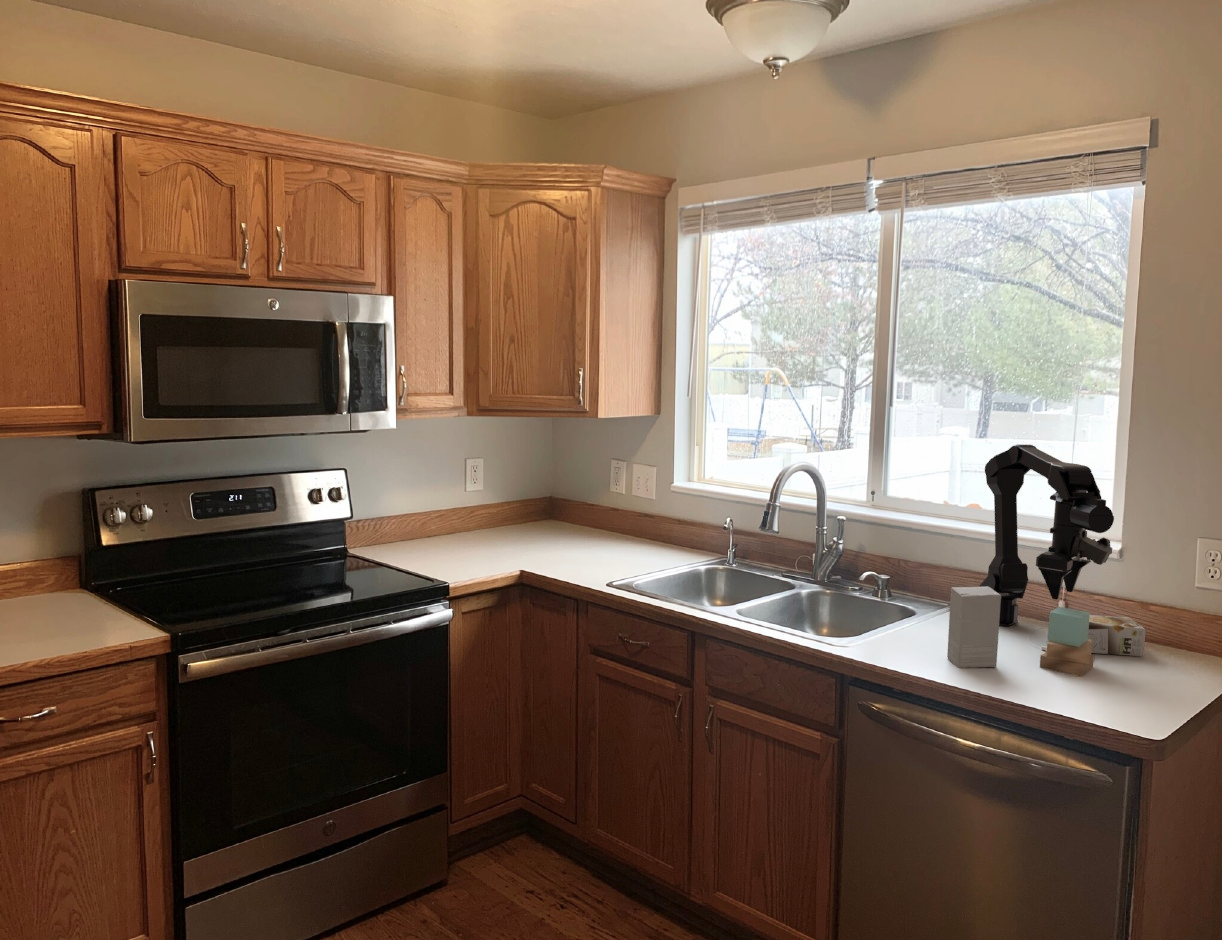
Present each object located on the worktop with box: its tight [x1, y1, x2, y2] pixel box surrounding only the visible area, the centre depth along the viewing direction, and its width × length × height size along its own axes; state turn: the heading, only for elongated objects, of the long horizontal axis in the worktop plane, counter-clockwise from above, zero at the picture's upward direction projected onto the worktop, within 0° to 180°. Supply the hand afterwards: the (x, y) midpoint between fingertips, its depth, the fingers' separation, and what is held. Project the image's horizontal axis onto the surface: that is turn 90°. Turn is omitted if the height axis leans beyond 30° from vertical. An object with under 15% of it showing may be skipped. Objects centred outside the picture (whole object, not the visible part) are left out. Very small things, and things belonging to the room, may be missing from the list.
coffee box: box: [1088, 614, 1146, 657], centre depth 207 cm, size 9×6×16 cm
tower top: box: [1046, 639, 1092, 664], centre depth 193 cm, size 8×8×3 cm
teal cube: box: [1047, 606, 1091, 647], centre depth 193 cm, size 6×6×6 cm
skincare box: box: [946, 586, 1001, 669], centre depth 194 cm, size 8×7×16 cm
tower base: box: [1039, 651, 1095, 678], centre depth 194 cm, size 8×8×3 cm
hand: (1062, 595), depth 203 cm, fingers open, 9 cm apart
